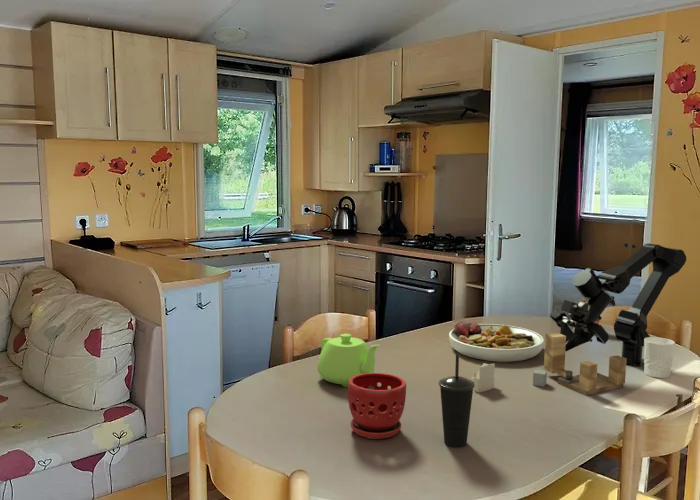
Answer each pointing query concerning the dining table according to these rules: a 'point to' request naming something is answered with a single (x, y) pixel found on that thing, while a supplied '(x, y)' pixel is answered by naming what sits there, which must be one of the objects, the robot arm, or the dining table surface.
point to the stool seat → (597, 377)
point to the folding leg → (556, 355)
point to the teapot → (345, 359)
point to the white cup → (658, 356)
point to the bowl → (495, 342)
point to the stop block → (539, 378)
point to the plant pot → (376, 404)
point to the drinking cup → (456, 407)
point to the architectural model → (484, 378)
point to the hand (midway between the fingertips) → (561, 348)
